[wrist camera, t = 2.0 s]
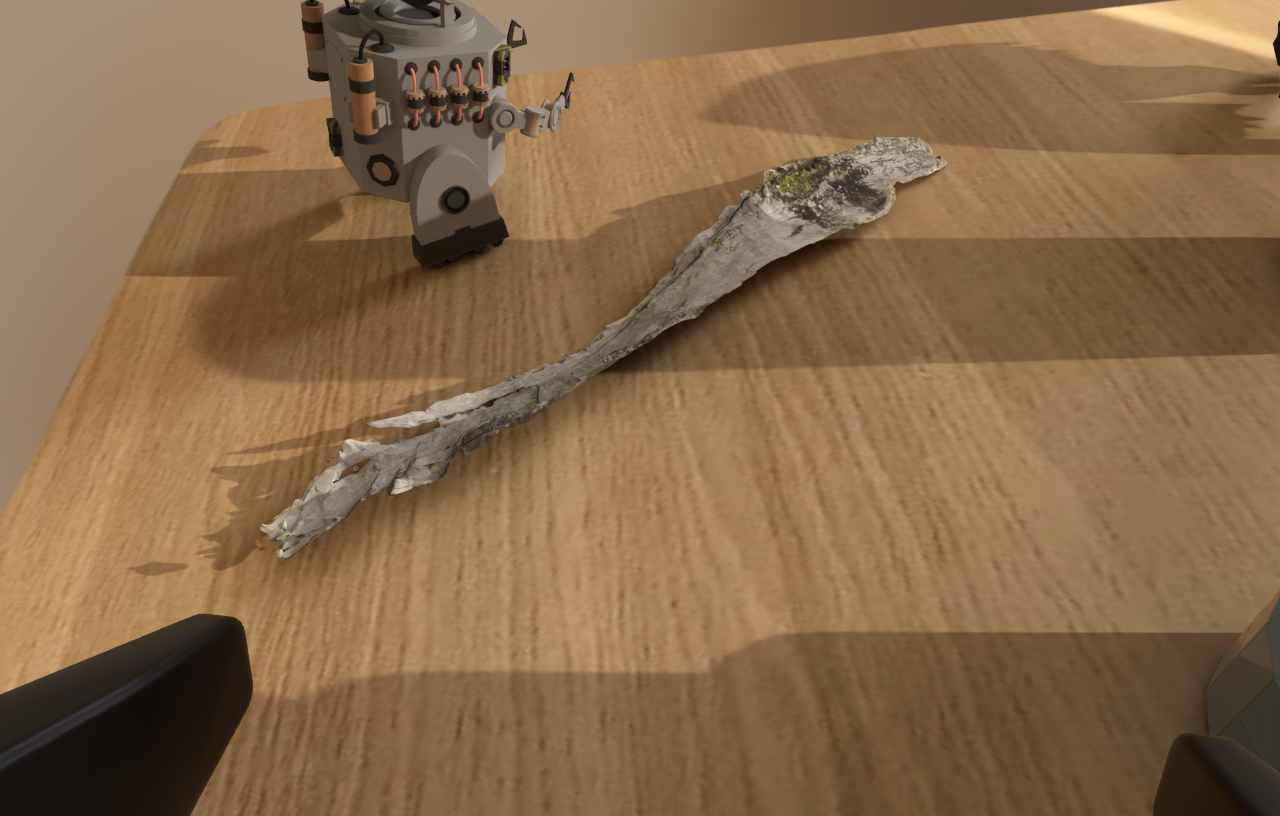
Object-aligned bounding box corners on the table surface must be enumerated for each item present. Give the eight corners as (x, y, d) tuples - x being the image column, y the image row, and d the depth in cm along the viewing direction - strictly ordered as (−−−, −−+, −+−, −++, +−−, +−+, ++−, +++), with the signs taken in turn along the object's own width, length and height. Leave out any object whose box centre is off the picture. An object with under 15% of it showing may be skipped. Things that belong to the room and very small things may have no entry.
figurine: (616, 207, 44) (592, -139, 33) (393, 287, 40) (283, -75, 29) (537, 130, 49) (494, -188, 38) (334, 194, 45) (225, -139, 35)
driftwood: (972, 170, 45) (890, 144, 48) (980, 122, 43) (894, 99, 46) (310, 602, 28) (249, 521, 31) (281, 552, 27) (219, 471, 30)
